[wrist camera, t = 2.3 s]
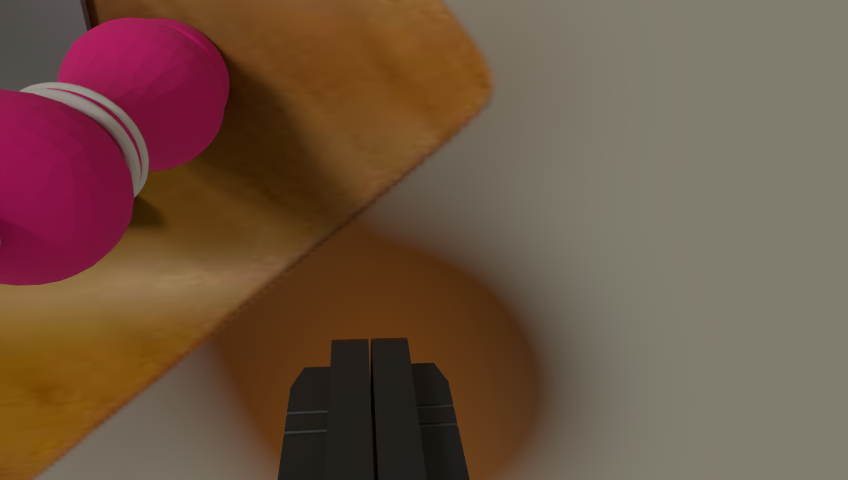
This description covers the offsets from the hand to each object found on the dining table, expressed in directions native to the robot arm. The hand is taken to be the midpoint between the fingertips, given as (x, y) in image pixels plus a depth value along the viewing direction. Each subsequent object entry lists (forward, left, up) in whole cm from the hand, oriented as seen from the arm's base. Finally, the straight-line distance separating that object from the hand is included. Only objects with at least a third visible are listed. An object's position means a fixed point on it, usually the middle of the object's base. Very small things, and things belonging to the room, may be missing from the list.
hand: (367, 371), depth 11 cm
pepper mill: (-10, 0, -24) cm, 26 cm away
